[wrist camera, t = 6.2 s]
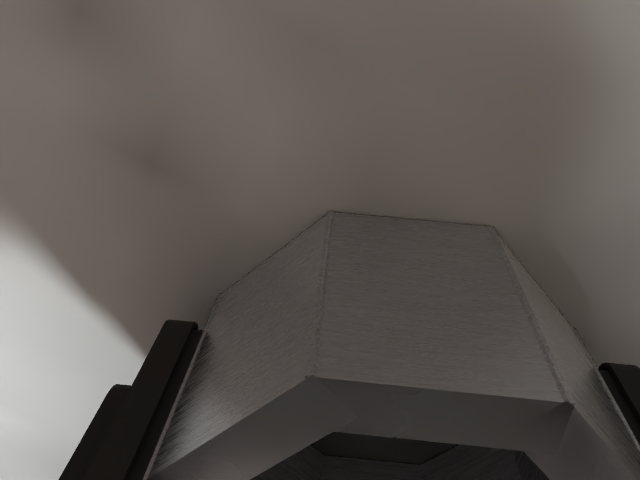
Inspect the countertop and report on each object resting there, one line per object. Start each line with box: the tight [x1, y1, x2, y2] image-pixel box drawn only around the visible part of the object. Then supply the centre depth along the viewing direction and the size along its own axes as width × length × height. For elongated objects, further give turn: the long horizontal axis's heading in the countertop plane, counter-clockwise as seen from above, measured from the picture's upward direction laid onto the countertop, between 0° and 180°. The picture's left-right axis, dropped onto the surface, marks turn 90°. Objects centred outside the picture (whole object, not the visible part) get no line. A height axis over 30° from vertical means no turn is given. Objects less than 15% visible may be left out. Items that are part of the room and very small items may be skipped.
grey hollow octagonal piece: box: [143, 211, 640, 480], centre depth 10 cm, size 7×7×4 cm
